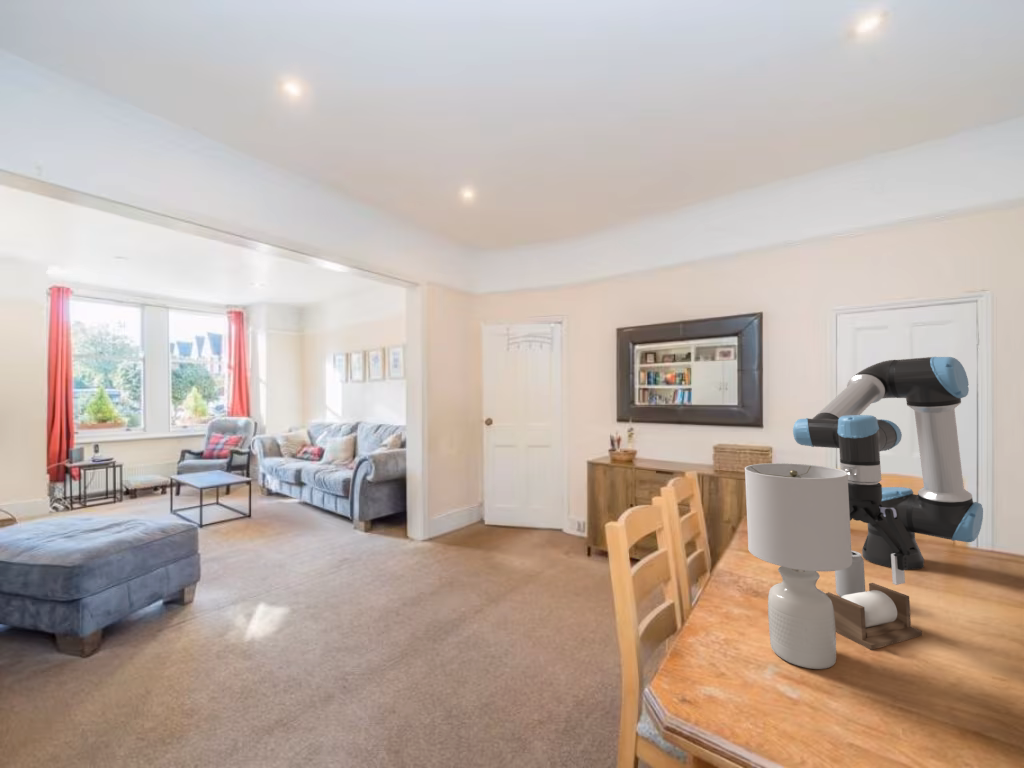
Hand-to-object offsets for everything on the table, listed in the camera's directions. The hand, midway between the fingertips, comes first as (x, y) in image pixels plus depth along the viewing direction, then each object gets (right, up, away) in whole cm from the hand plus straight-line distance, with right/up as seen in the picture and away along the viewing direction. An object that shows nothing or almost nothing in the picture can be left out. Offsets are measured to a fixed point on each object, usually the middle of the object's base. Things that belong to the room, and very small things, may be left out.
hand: (866, 572), depth 106 cm
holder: (0, -13, 0) cm, 13 cm away
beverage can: (+8, -13, +15) cm, 22 cm away
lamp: (-21, -14, -9) cm, 27 cm away
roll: (0, -12, -1) cm, 12 cm away
